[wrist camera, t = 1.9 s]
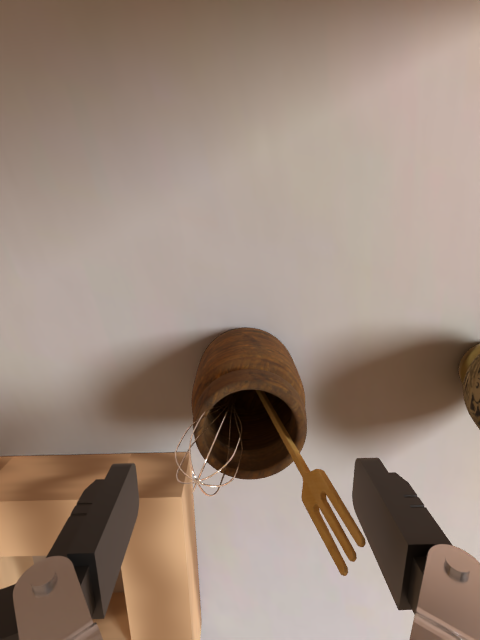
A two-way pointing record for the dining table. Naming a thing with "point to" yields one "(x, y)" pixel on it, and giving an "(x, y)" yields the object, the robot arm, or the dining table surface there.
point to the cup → (471, 381)
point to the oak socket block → (144, 546)
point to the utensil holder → (261, 425)
